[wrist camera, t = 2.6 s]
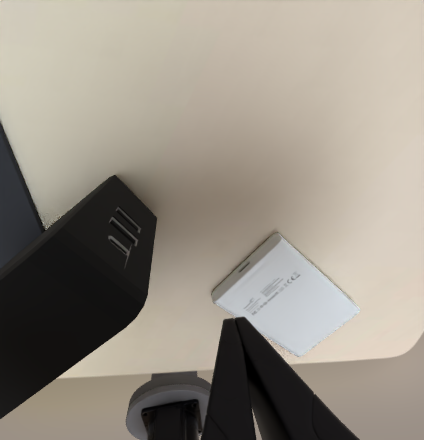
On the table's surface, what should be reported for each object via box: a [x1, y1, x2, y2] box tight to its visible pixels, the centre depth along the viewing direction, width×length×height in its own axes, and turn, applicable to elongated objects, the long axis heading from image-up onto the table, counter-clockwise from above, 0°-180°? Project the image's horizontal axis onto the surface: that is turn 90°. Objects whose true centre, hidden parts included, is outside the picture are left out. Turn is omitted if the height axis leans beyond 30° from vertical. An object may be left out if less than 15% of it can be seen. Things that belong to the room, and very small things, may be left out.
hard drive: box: [211, 232, 360, 357], centre depth 22 cm, size 2×8×12 cm
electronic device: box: [0, 175, 157, 419], centre depth 13 cm, size 4×10×10 cm, turn 127°
